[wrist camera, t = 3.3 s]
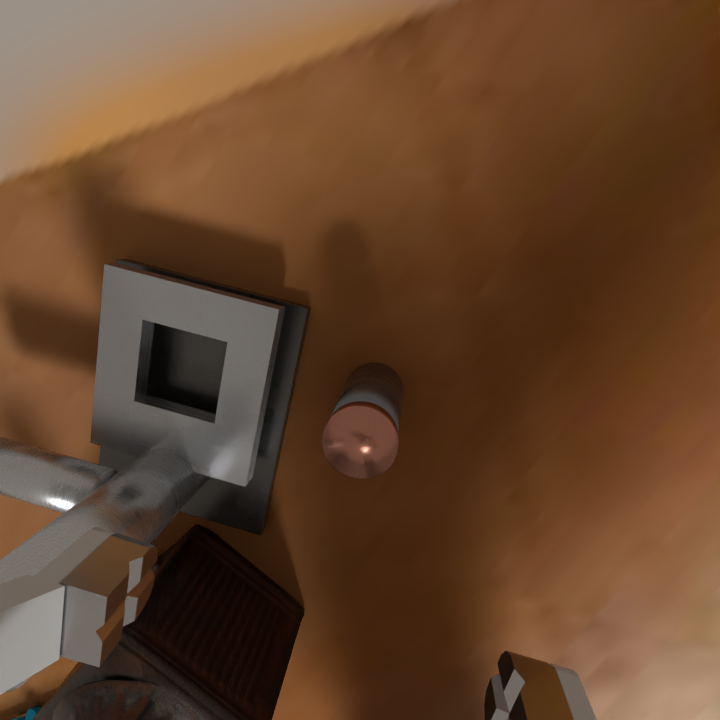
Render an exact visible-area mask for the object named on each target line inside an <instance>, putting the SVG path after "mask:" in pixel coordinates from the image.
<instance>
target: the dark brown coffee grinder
mask: <svg viewBox="0 0 720 720" xmlns="http://www.w3.org/2000/svg"><path fill="white" fill-rule="evenodd" d="M151 570H152V572H153V573H154V575H155V579H154V585H153V588H152V591H151V594H150V597H149V599H148V601H147V602H146V604H145V606H144V608H143V610H142V611H141V613H140V614H139V615H138V617H137V618H136V620H135V621H133V622H131V623H129V624H127V625H125V626H123V629H122V637H121V640H120V641H119V642H118V644H117V645H116V646H115V648H114V649H113V650H112V652H111V653H110V654H109V656H108V657H107V658H106V659H105V661H104V662H103V663H102V665H101V666H100V667H96V666H93V665H89V664H86V663H82V662H78V663H77V664H76V666H75V667H74V668H73V670H72V671H71V672H70V673H69V675H68V676H67V677H66V679H65V680H64V681H63V682H62V684H61V685H60V686H59V687H58V689H57V690H56V691H55V693H54V694H53V695H52V696H51V697H50V698H49V700H48V701H47V702H46V703H45V704H44V705H43V706H42V708H41V709H40V710H39V712H38V713H37V714H36V716H35V717H34V718H33V720H272V717H273V714H274V710H275V707H276V704H277V700H278V697H279V694H280V690H281V687H282V683H283V680H284V677H285V673H286V670H287V667H288V663H289V660H290V656H291V653H292V649H293V646H294V643H295V639H296V636H297V633H298V630H299V627H300V623H301V620H302V618H303V616H304V609H303V608H302V607H301V606H300V605H299V604H298V603H297V602H296V601H295V600H294V599H293V598H292V597H291V596H290V595H289V594H288V593H287V592H286V591H284V590H283V589H282V588H281V587H280V586H278V585H277V584H276V583H275V582H273V581H272V580H271V579H270V578H269V577H267V576H266V575H265V574H264V573H262V572H261V571H260V570H259V569H258V568H256V567H255V566H254V565H253V564H252V563H250V562H249V561H248V560H247V559H245V558H244V557H243V556H242V555H240V554H239V553H238V552H237V551H236V550H234V549H233V548H232V547H231V546H229V545H228V544H227V543H226V542H224V541H223V540H222V539H221V538H219V537H218V536H217V535H216V534H214V533H213V532H212V531H211V530H208V529H206V528H204V527H202V526H199V525H194V526H193V527H192V528H191V529H190V530H189V531H188V532H187V533H186V534H185V535H184V536H183V537H182V538H181V539H180V540H179V541H178V542H176V543H175V544H174V545H173V546H172V547H171V548H170V549H168V550H167V551H166V552H165V553H164V554H163V555H161V556H158V557H157V561H156V562H155V564H154V565H153V566H152V567H151Z"/></svg>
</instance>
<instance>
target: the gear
mask: <svg viewBox="0 0 720 720" xmlns="http://www.w3.org/2000/svg"><path fill="white" fill-rule="evenodd" d="M41 708H42V707H35V708H30V709H28V711H27V713H26V716H25V717H20V718H15V719H12V720H33V718H34V717H35V716H36V714H37V713H38V712H39V710H40V709H41Z"/></svg>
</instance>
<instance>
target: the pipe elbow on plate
mask: <svg viewBox="0 0 720 720" xmlns="http://www.w3.org/2000/svg"><path fill="white" fill-rule="evenodd" d="M310 308H311V307H308V306H304V305H300V304H296V303H293V302H289V301H285V300H281V299H277V298H273V297H269V296H266V295H262V294H258V293H254V292H250V291H246V290H242V289H239V288H235V287H231V286H227V285H223V284H219V283H215V282H212V281H208V280H204V279H200V278H196V277H192V276H188V275H184V274H181V273H177V272H173V271H169V270H165V269H161V268H157V267H154V266H150V265H146V264H142V263H138V262H134V261H130V260H127V259H117V260H116V264H104V274H103V287H102V300H101V313H100V326H99V338H98V351H97V364H96V377H95V390H94V403H93V416H92V429H91V442H90V443H94V444H97V445H101V449H100V461H99V465H97V464H93V463H90V462H87V461H83V460H80V459H76V458H73V457H69V456H66V455H62V454H59V453H55V452H52V451H48V450H45V449H41V448H38V447H34V446H31V445H28V444H24V443H21V442H17V441H14V440H10V439H7V438H3V437H0V495H4V496H7V497H11V498H14V499H17V500H21V501H24V502H28V503H31V504H34V505H38V506H41V507H44V508H48V509H51V510H55V511H58V512H61V513H63V514H62V515H60V516H59V517H58V518H56V519H55V520H54V521H52V522H51V523H50V524H48V525H47V526H46V527H44V528H43V529H42V530H40V531H39V532H38V533H36V534H35V535H34V536H32V537H31V538H29V539H28V540H27V541H25V542H24V543H23V544H21V545H20V546H19V547H17V548H16V549H15V550H13V551H12V552H11V553H9V554H8V555H7V556H5V557H4V558H2V559H1V560H0V584H1V583H4V582H7V581H10V580H13V579H16V578H19V577H21V576H24V575H27V574H28V575H32V576H35V575H36V574H37V573H38V572H40V571H41V570H42V569H43V568H44V567H46V566H47V565H48V564H49V563H50V562H51V561H53V560H54V559H55V558H56V557H57V556H58V555H60V554H61V553H62V552H63V551H64V550H65V549H67V548H68V547H69V546H70V545H71V544H73V543H74V542H75V541H76V540H77V539H78V538H80V537H81V536H82V535H83V534H84V533H85V532H87V531H88V530H89V529H92V528H94V527H99V528H102V529H105V530H108V531H111V532H114V533H118V534H121V535H124V536H127V537H130V538H133V539H137V540H140V541H143V542H146V543H149V544H151V543H152V542H153V540H154V539H155V538H156V537H157V536H158V535H159V534H160V533H161V532H162V530H163V529H164V528H165V527H166V526H167V525H168V524H169V523H170V522H171V521H172V519H173V518H174V517H175V516H176V515H177V514H178V513H179V512H183V513H186V514H190V515H193V516H197V517H200V518H203V519H207V520H210V521H214V522H217V523H221V524H224V525H227V526H231V527H234V528H238V529H241V530H245V531H248V532H252V533H255V534H258V535H261V533H262V532H263V530H264V528H265V523H266V518H267V514H268V509H269V504H270V499H271V494H272V490H273V485H274V480H275V475H276V471H277V466H278V461H279V456H280V452H281V447H282V442H283V437H284V432H285V428H286V423H287V418H288V413H289V409H290V404H291V399H292V394H293V390H294V385H295V380H296V375H297V370H298V366H299V361H300V356H301V351H302V347H303V342H304V337H305V332H306V328H307V323H308V318H309V313H310ZM29 678H30V677H29ZM29 678H27V679H25V680H24V681H22V682H20V683H19V684H17V685H16V686H14V687H12V688H11V689H9V690H7V691H6V692H8V691H12V690H15V689H17V688H19V687H20V686H22V685H23V684H24V683H25V682H26V681H27V680H28V679H29Z"/></svg>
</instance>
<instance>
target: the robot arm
mask: <svg viewBox="0 0 720 720" xmlns="http://www.w3.org/2000/svg"><path fill="white" fill-rule="evenodd" d="M157 557H158V548H157V547H156V546H155V545H152V544H149V543H146V542H143V541H140V540H137V539H133V538H130V537H127V536H124V535H121V534H118V533H114V532H111V531H108V530H105V529H102V528H99V527H94V528H92V529H89V530H88V531H87V532H85V533H84V534H83V535H82V536H81V537H80V538H78V539H77V540H76V541H75V542H74V543H73V544H71V545H70V546H69V547H68V548H67V549H65V550H64V551H63V552H62V553H61V554H60V555H58V556H57V557H56V558H55V559H54V560H53V561H51V562H50V563H49V564H48V565H47V566H46V567H44V568H43V569H42V570H41V571H40V572H38V573H37V574H36V575H35V576H32V575H28V574H27V575H24V576H21V577H19V578H16V579H13V580H10V581H7V582H4V583H1V584H0V695H1V694H2V693H4V692H6V691H7V690H9V689H11V688H12V687H14V686H16V685H17V684H19V683H20V682H22V681H24V680H25V679H27V678H29V677H30V676H32V675H34V674H35V673H37V672H39V671H40V670H42V669H44V668H45V667H47V666H49V665H50V664H52V663H54V662H55V661H57V660H59V657H60V656H61V657H64V658H68V659H71V660H75V661H78V662H82V663H86V664H89V665H93V666H96V667H100V666H101V665H102V663H103V662H104V661H105V659H106V658H107V657H108V656H109V654H110V653H111V652H112V650H113V649H114V648H115V646H116V645H117V644H118V642H119V641H120V640H121V637H122V629H123V626H125V625H127V624H129V623H131V622H133V621H135V620H136V618H137V617H138V615H139V614H140V613H141V611H142V610H143V608H144V606H145V604H146V602H147V601H148V599H149V597H150V594H151V591H152V588H153V585H154V579H155V575H154V573H153V572H152V570H151V567H152V566H153V565H154V564H155V562H156V561H157ZM498 668H499V673H500V674H498V675H496V676H494V677H492V678H491V679H490V682H489V685H488V687H487V690H486V697H485V704H484V707H485V720H597V719H596V717H595V715H594V712H593V710H592V707H591V705H590V702H589V700H588V697H587V695H586V693H585V690H584V688H583V685H582V683H581V680H580V678H579V676H578V674H577V673H576V672H575V671H574V670H571V669H568V668H564V667H561V666H557V665H554V664H549V663H547V662H543V661H540V660H536V659H533V658H529V657H526V656H522V655H519V654H516V653H512V652H509V651H505V652H504V653H503V654H501V657H500V659H499V661H498Z"/></svg>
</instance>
